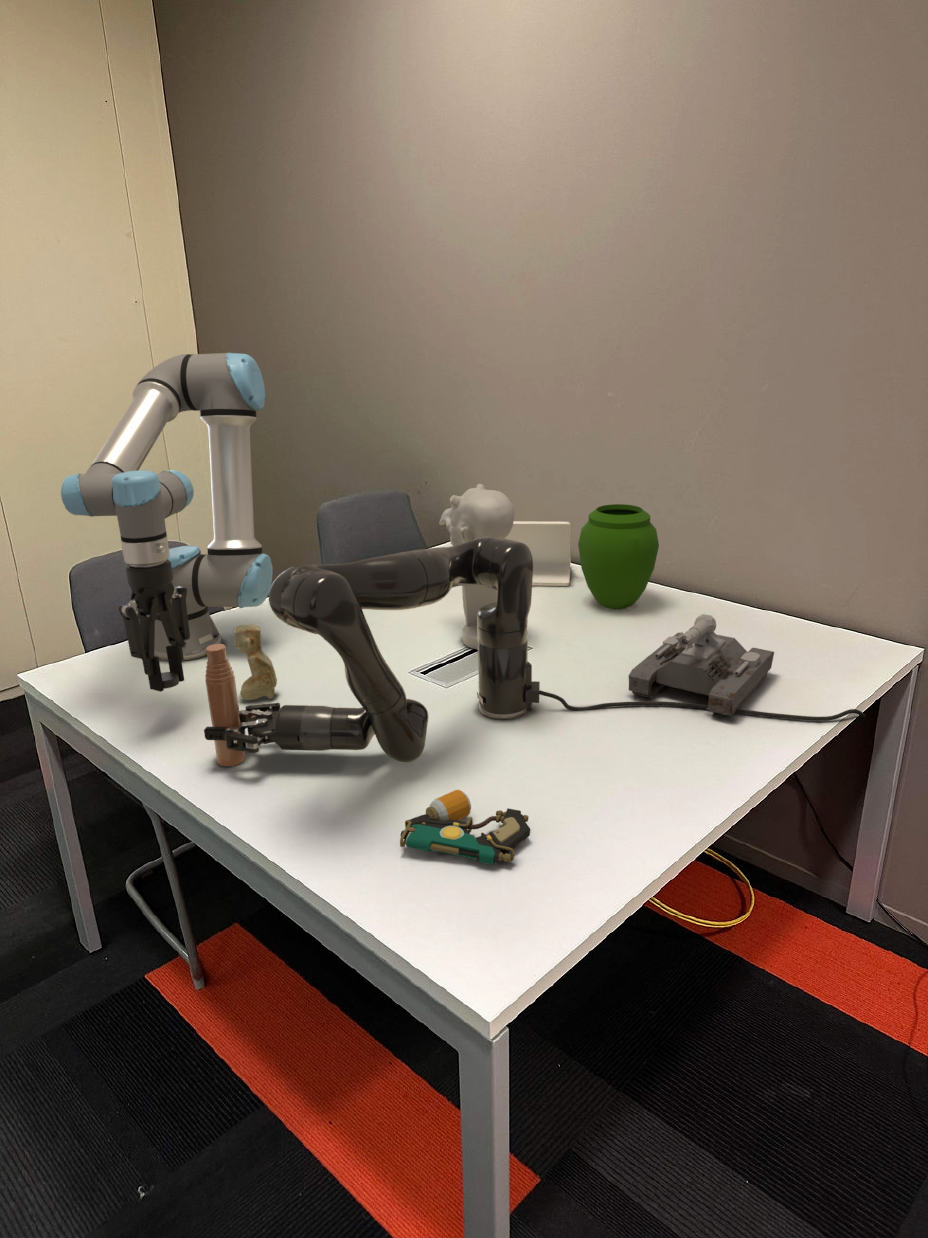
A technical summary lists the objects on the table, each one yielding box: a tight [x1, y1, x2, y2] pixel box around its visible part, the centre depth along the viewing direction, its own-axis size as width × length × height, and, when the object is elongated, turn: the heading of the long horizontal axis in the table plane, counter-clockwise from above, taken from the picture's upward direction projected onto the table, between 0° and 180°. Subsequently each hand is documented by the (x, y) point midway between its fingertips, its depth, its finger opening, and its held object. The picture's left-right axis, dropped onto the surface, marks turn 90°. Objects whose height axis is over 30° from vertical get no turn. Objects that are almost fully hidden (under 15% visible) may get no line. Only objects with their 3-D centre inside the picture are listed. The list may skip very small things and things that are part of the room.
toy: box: [628, 613, 775, 717], centre depth 166 cm, size 25×20×15 cm
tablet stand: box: [505, 520, 572, 587], centre depth 236 cm, size 18×25×17 cm
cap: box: [161, 671, 180, 690], centre depth 156 cm, size 4×4×2 cm
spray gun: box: [399, 789, 531, 866], centre depth 122 cm, size 4×17×15 cm
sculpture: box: [233, 624, 278, 701], centre depth 167 cm, size 6×7×15 cm
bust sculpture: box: [438, 483, 515, 650], centre depth 192 cm, size 16×24×35 cm, turn 28°
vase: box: [577, 503, 660, 610], centre depth 210 cm, size 20×20×24 cm
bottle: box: [204, 643, 246, 767], centre depth 143 cm, size 5×5×21 cm
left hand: (167, 684), depth 156 cm, fingers closed on cap, 4 cm apart
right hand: (211, 725), depth 145 cm, fingers closed on bottle, 4 cm apart
